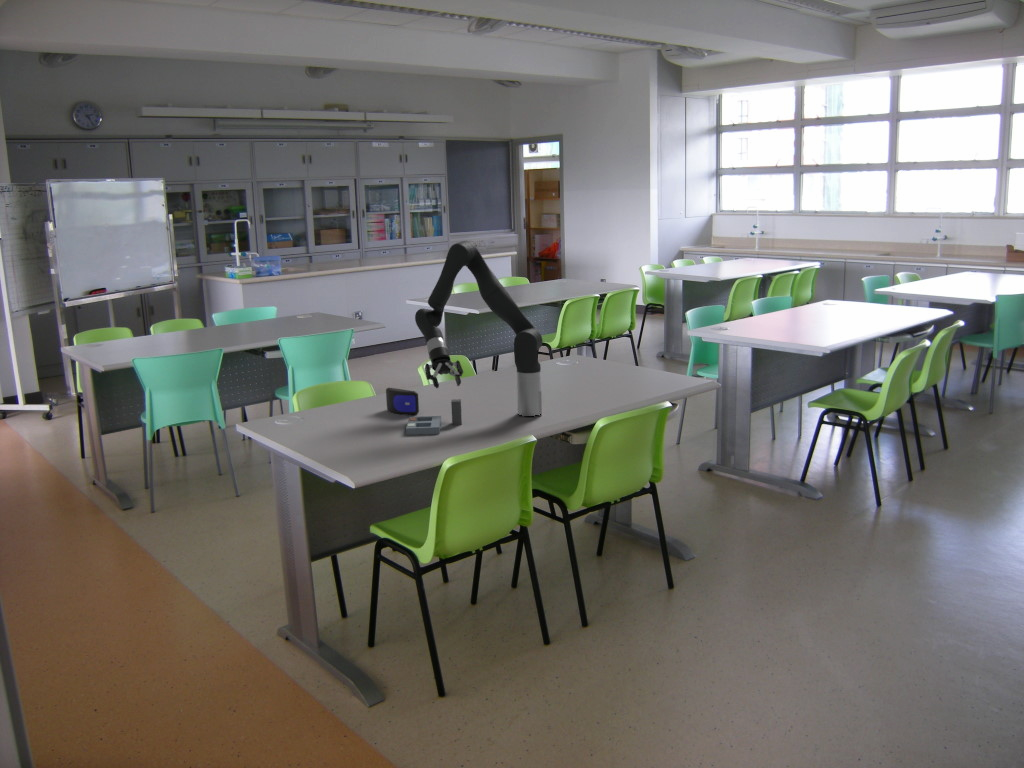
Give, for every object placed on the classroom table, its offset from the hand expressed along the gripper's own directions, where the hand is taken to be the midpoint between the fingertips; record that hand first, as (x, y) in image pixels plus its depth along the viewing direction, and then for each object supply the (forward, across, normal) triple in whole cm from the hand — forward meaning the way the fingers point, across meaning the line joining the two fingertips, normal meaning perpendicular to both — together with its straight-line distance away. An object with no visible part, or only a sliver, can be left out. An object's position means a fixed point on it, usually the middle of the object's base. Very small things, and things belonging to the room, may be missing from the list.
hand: (448, 385), depth 321 cm
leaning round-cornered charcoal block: (-3, -14, +22) cm, 26 cm away
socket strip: (+16, -13, +2) cm, 20 cm away
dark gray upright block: (+15, 0, +3) cm, 15 cm away
